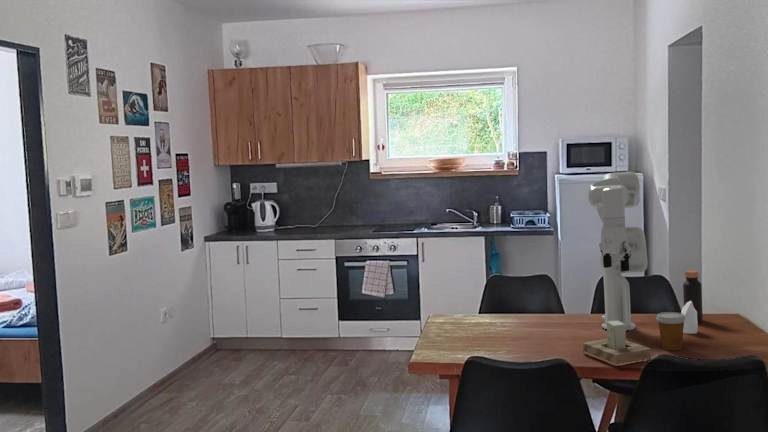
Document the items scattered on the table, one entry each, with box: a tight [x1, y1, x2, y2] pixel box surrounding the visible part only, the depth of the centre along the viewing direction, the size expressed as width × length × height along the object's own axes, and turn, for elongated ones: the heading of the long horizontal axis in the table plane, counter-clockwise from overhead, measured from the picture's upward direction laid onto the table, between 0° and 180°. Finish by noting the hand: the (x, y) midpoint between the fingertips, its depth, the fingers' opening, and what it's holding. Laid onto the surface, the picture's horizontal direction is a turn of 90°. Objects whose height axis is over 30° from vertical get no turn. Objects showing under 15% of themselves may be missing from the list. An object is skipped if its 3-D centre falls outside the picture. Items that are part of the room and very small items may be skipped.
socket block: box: [582, 338, 652, 364], centre depth 248 cm, size 18×14×4 cm
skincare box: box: [606, 320, 627, 350], centre depth 247 cm, size 6×4×12 cm
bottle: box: [682, 269, 704, 323], centre depth 287 cm, size 7×7×20 cm
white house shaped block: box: [680, 301, 699, 335], centre depth 272 cm, size 6×12×6 cm
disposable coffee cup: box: [656, 311, 685, 352], centre depth 253 cm, size 10×10×12 cm
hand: (616, 269), depth 259 cm, fingers open, 9 cm apart
